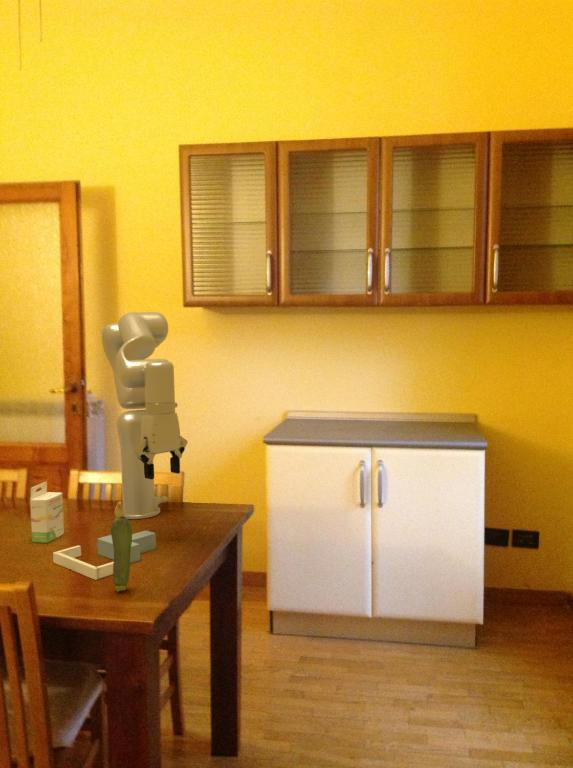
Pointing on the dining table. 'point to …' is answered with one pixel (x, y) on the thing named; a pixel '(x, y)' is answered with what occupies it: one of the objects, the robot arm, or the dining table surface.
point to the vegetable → (121, 548)
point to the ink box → (46, 514)
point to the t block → (139, 545)
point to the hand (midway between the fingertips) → (162, 475)
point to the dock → (81, 563)
